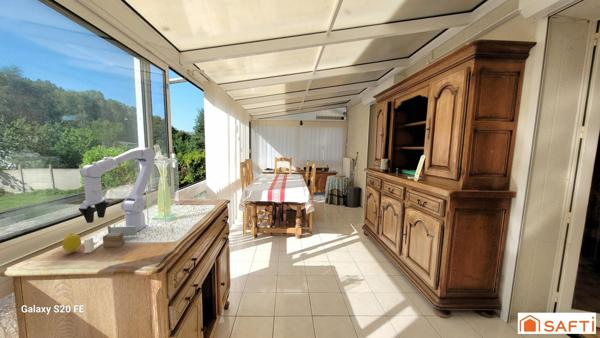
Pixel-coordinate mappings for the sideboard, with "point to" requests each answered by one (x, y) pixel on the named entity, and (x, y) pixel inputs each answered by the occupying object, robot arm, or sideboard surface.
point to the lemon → (71, 243)
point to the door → (124, 230)
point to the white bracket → (89, 244)
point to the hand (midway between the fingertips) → (95, 219)
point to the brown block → (113, 239)
